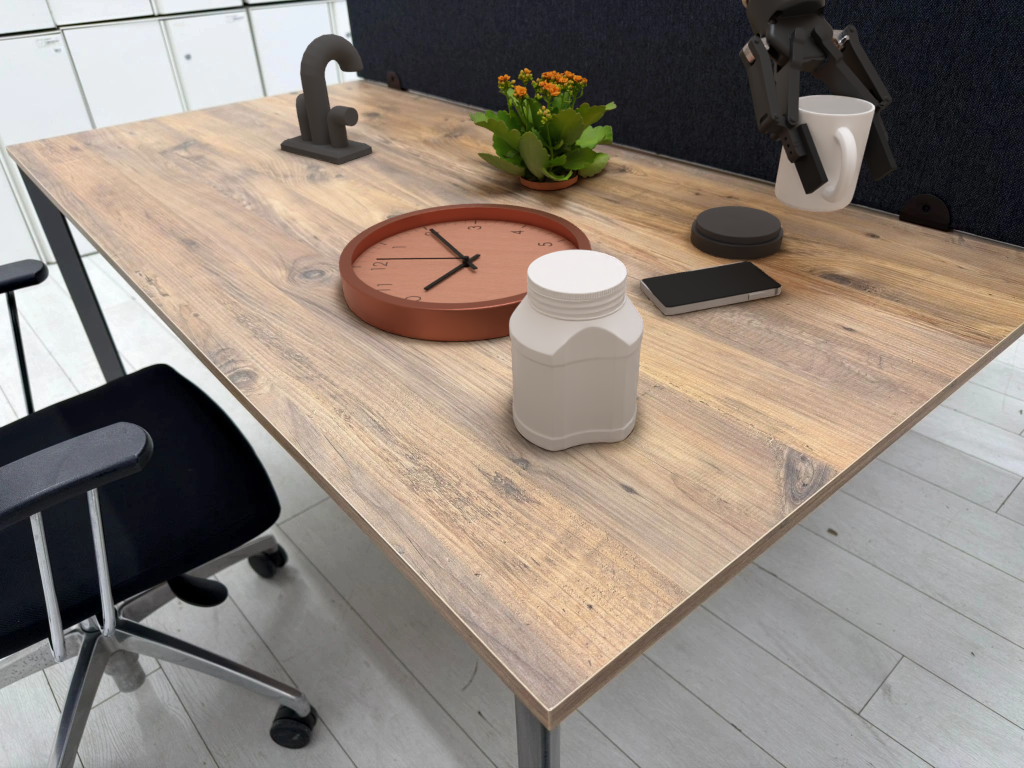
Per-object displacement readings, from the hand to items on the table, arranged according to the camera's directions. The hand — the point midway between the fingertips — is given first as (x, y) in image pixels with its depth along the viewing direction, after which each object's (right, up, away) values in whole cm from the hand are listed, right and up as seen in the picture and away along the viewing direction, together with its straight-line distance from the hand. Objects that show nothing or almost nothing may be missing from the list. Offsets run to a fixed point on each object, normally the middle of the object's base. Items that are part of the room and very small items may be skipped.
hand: (851, 180), depth 75 cm
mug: (-2, -2, +4) cm, 5 cm away
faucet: (-69, +26, +67) cm, 100 cm away
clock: (-41, -8, +17) cm, 45 cm away
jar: (-30, -24, -7) cm, 39 cm away
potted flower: (-30, +12, +46) cm, 56 cm away
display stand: (-5, -2, +24) cm, 24 cm away
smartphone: (-12, -10, +12) cm, 20 cm away
